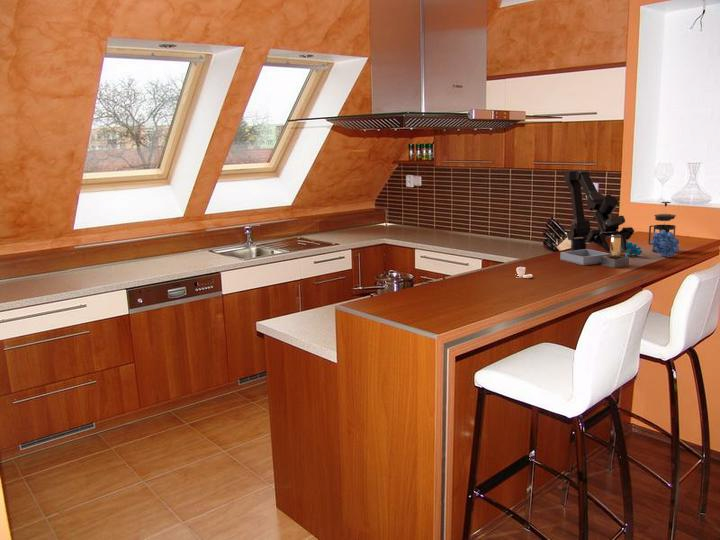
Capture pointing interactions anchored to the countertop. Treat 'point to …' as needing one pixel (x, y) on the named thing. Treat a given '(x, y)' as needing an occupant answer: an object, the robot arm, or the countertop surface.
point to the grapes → (665, 243)
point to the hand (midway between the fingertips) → (617, 250)
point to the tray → (583, 256)
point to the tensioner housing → (615, 261)
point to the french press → (662, 227)
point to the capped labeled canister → (615, 246)
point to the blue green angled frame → (631, 249)
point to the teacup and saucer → (522, 272)
